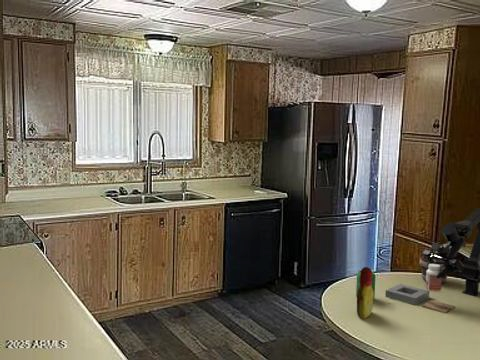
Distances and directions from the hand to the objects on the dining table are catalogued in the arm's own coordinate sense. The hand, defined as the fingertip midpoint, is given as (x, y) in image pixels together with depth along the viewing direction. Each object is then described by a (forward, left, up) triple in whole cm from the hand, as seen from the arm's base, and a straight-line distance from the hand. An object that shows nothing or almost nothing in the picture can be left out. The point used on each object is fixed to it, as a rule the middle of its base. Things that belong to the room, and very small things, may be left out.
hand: (431, 275), depth 210 cm
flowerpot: (-36, -14, -13) cm, 41 cm away
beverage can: (+13, -24, -13) cm, 30 cm away
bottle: (+31, -14, -13) cm, 37 cm away
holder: (-3, -12, -13) cm, 18 cm away
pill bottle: (-1, +1, -7) cm, 7 cm away
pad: (-1, +3, -13) cm, 14 cm away
